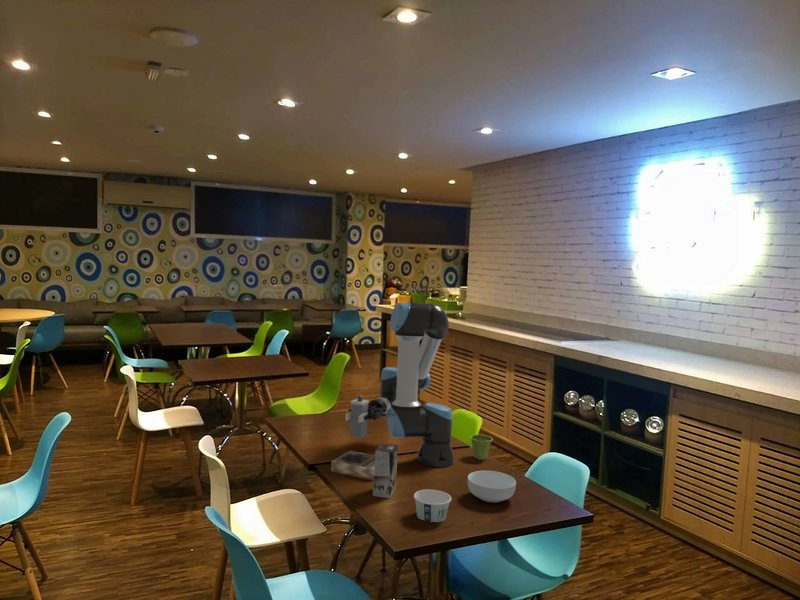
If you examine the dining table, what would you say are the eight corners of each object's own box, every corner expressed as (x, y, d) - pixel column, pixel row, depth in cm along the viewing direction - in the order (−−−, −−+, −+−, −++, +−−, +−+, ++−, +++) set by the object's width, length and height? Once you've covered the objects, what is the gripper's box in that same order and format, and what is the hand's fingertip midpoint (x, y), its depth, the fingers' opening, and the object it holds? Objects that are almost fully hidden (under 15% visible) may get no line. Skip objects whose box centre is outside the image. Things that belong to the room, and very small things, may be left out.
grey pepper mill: (367, 434, 241) (369, 395, 240) (360, 438, 236) (363, 398, 235) (355, 432, 243) (357, 394, 243) (349, 435, 238) (351, 396, 238)
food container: (420, 506, 198) (421, 486, 198) (454, 513, 193) (456, 493, 193) (406, 519, 187) (408, 498, 187) (443, 527, 182) (444, 506, 182)
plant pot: (492, 462, 248) (494, 441, 247) (470, 460, 248) (471, 440, 248) (489, 455, 257) (491, 435, 257) (468, 453, 257) (469, 433, 257)
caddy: (390, 468, 232) (391, 458, 232) (374, 480, 218) (374, 470, 218) (349, 460, 239) (349, 450, 239) (331, 471, 225) (331, 461, 225)
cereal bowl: (458, 491, 213) (459, 472, 213) (498, 487, 219) (499, 468, 219) (481, 510, 197) (483, 489, 197) (524, 505, 203) (525, 485, 203)
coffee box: (390, 498, 202) (393, 452, 201) (372, 496, 204) (374, 450, 203) (396, 489, 211) (398, 444, 210) (378, 487, 213) (381, 442, 212)
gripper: (397, 419, 252) (372, 431, 231) (359, 412, 260) (332, 424, 238) (398, 401, 252) (373, 412, 231) (360, 395, 259) (333, 405, 238)
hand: (352, 418), depth 235 cm, fingers closed on grey pepper mill, 5 cm apart
